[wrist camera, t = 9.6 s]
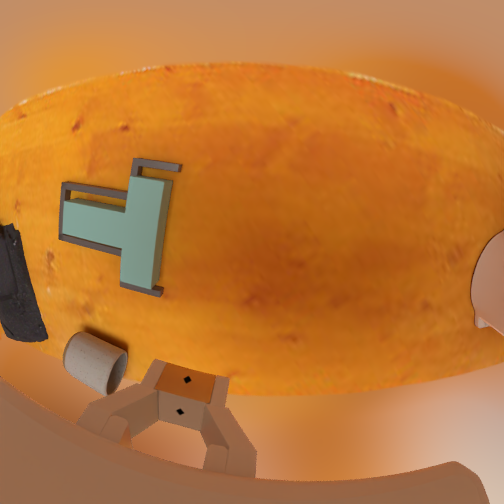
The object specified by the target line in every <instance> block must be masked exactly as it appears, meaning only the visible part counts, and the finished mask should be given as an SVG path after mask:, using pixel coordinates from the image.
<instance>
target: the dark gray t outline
mask: <svg viewBox="0 0 504 504" xmlns="http://www.w3.org/2000/svg"><path fill="white" fill-rule="evenodd" d="M142 167H150V168H157V169H163V170H169V171H175V172H181V168H182V165H180V164H174V163H168V162H161V161H155V160H148V159H140V158H133V163H132V169H131V175H130V176H141V172H142ZM71 190H74V191H80V192H85V193H91V194H97V195H102V196H108V197H113V198H119V199H124V200H127V194H128V191H123V190H117V189H111V188H105V187H99V186H93V185H87V184H80V183H74V182H62V186H61V197H60V212H59V240H62V241H66V242H69V243H73V244H77V245H80V246H84V247H88V248H91V249H95V250H99V251H102V252H106V253H110V254H114V255H118V256H121V252H122V248H118V247H114V246H110V245H106V244H102V243H98V242H94V241H90V240H86V239H83V238H79V237H75V236H71V235H67V234H64V233H62V231H63V209H64V201H67V200H70V192H71ZM120 287H123V288H127V289H130V290H134V291H138V292H141V293H145V294H148V295H152V296H156V297H161V296H162V294H163V287H159V286H155V285H154V286H153V288H152V289H147V288H143V287H140V286H136V285H132V284H129V283H125V282H122V281H120Z"/></svg>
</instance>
